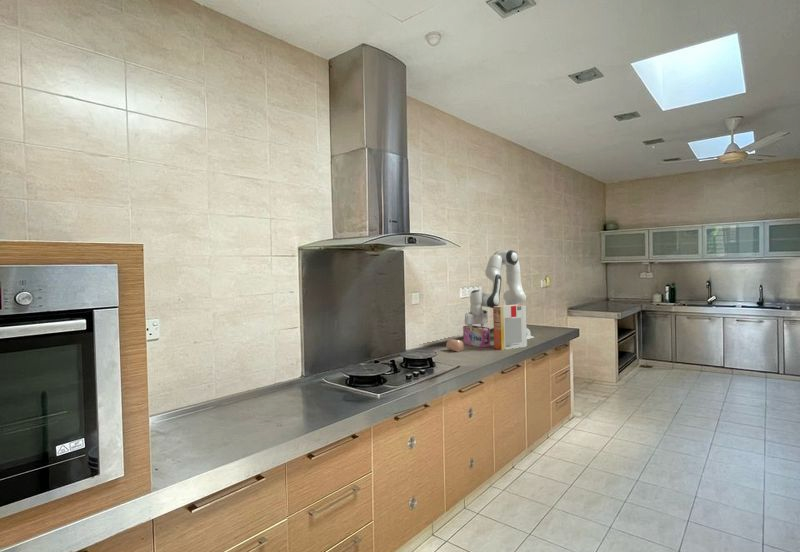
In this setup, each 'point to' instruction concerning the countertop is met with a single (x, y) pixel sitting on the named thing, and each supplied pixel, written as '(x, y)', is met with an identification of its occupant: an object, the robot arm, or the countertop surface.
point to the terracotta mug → (454, 345)
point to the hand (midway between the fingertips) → (476, 330)
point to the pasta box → (509, 326)
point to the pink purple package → (476, 336)
